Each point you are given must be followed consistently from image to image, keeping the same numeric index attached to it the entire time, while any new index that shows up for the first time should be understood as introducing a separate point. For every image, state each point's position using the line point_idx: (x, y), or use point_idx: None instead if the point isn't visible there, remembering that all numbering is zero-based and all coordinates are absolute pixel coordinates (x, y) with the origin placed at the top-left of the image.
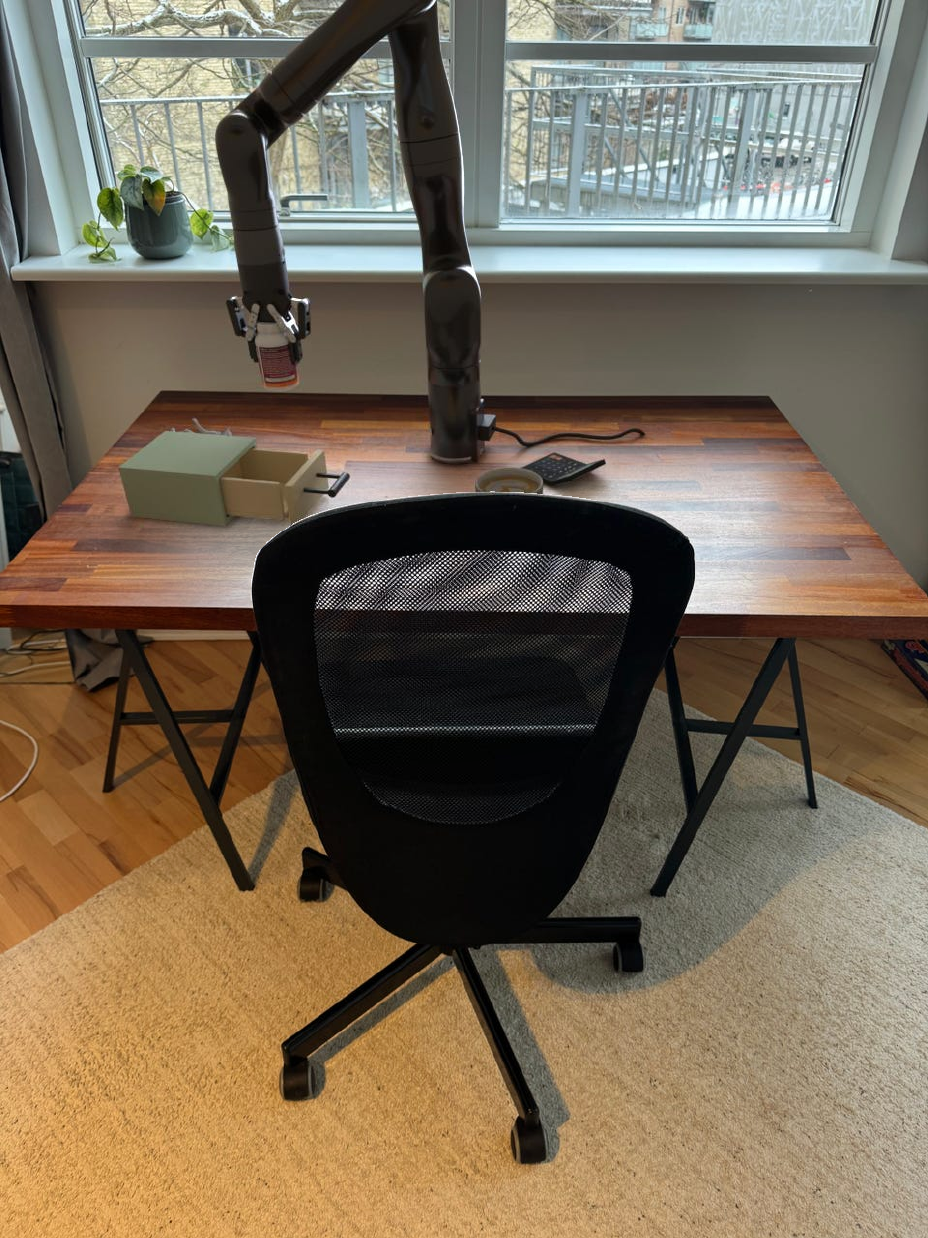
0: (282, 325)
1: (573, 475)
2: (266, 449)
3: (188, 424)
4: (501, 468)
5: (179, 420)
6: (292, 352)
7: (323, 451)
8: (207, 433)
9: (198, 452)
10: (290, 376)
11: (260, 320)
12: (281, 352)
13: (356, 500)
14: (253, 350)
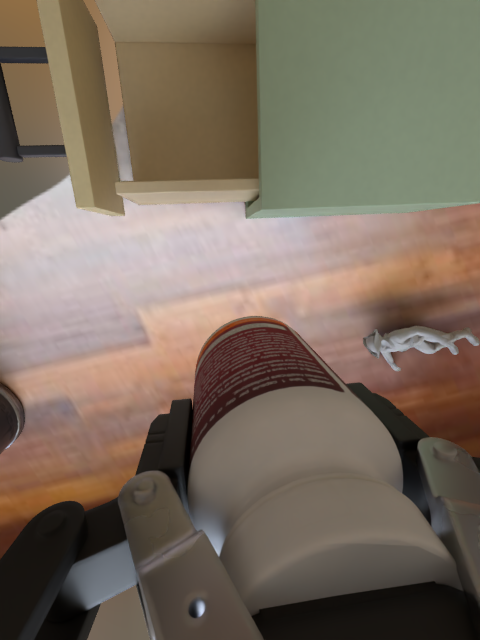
0: (181, 577)
1: None
2: (223, 186)
3: (457, 398)
4: None
5: (475, 407)
6: (172, 429)
7: (75, 201)
8: (409, 329)
9: (366, 80)
10: (200, 363)
11: (434, 599)
12: (215, 400)
13: (50, 199)
14: (380, 408)
